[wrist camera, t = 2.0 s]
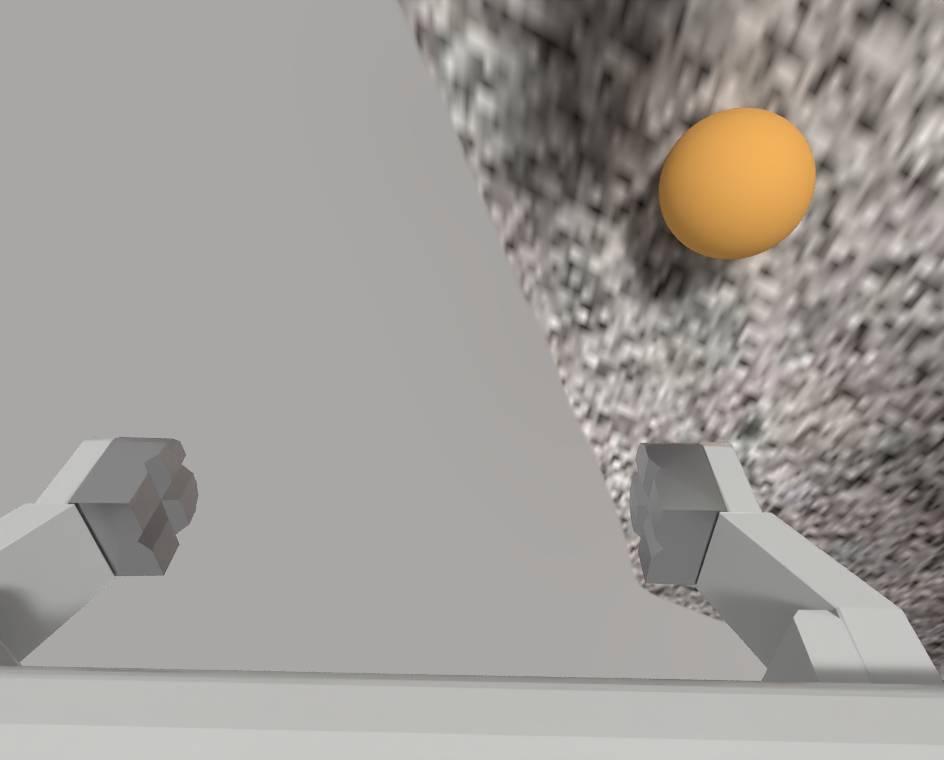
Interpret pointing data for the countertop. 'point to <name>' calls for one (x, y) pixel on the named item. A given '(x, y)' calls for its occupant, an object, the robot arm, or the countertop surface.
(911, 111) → the countertop surface
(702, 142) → the ball
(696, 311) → the countertop surface
